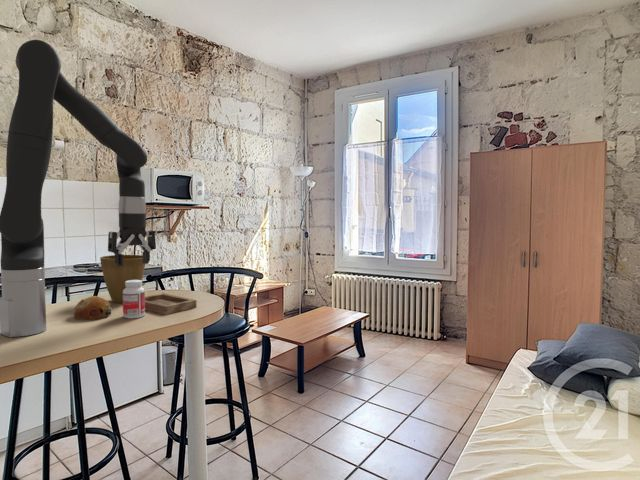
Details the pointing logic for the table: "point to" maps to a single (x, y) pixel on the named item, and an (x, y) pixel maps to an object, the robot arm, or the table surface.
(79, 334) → the table surface
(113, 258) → the plant pot
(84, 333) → the table surface
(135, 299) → the pill bottle
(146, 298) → the shallow rectangular tray
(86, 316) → the bread roll
